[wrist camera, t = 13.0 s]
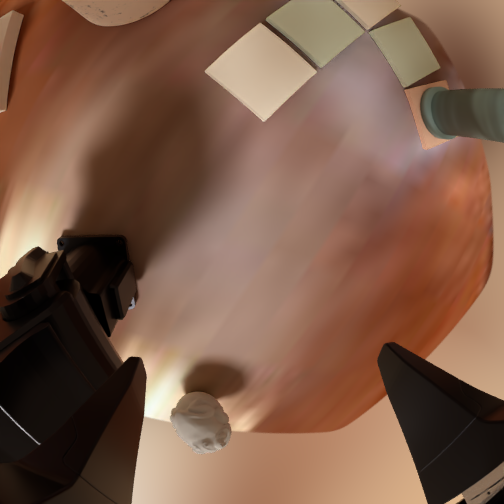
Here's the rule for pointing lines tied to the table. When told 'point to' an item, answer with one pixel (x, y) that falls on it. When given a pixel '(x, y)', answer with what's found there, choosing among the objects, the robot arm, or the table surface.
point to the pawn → (464, 113)
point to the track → (322, 54)
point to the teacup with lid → (115, 10)
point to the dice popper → (7, 51)
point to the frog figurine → (201, 422)
